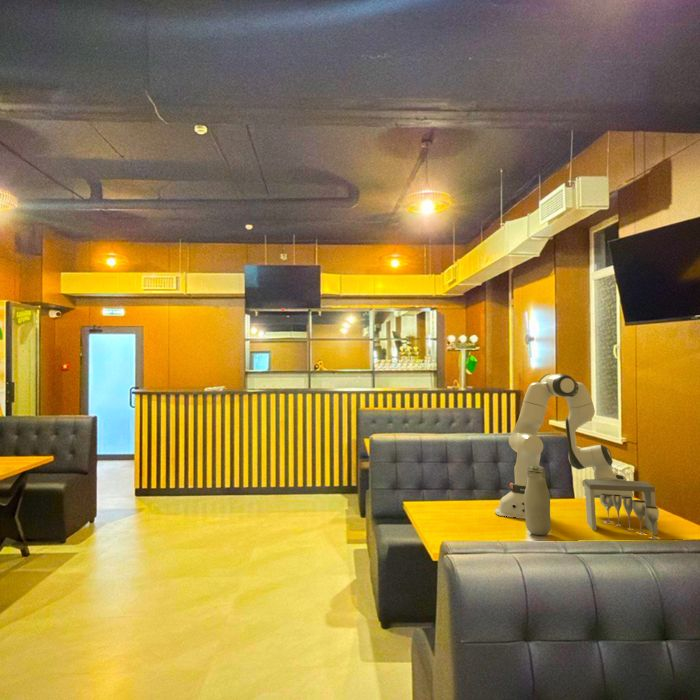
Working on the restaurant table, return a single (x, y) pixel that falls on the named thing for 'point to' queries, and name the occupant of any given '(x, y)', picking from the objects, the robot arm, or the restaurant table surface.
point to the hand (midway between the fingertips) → (611, 505)
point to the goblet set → (629, 504)
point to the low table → (617, 485)
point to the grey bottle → (537, 501)
